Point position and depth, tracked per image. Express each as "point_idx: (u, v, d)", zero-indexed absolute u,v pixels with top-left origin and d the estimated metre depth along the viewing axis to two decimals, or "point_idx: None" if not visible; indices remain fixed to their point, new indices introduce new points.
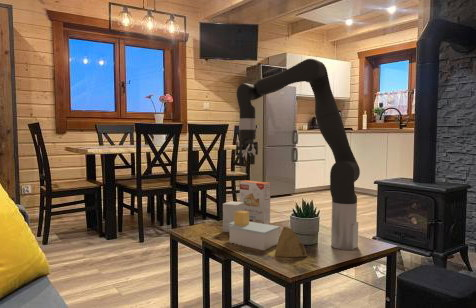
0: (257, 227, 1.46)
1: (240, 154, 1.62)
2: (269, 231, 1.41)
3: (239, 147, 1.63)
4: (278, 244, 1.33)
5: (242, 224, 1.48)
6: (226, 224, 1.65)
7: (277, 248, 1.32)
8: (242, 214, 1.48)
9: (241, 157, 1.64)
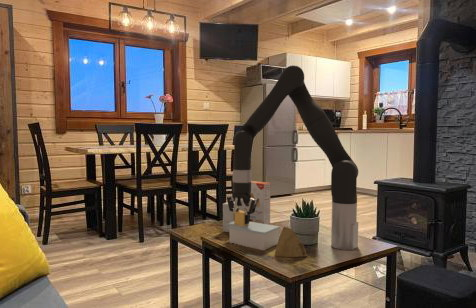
0: (257, 227, 1.46)
1: None
2: (269, 231, 1.41)
3: (255, 205, 1.48)
4: (278, 244, 1.33)
5: (242, 224, 1.48)
6: (226, 224, 1.65)
7: (277, 248, 1.32)
8: (242, 214, 1.48)
9: (249, 215, 1.49)
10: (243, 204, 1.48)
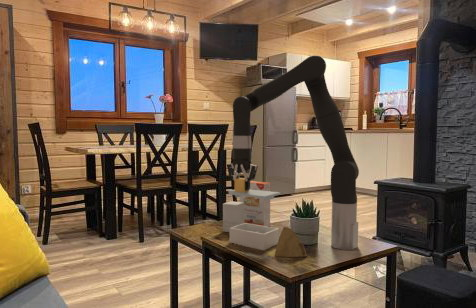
0: (257, 193, 1.45)
1: (254, 178, 1.48)
2: (269, 195, 1.40)
3: (255, 171, 1.47)
4: (278, 244, 1.33)
5: (242, 190, 1.48)
6: (226, 224, 1.65)
7: (277, 248, 1.32)
8: (242, 180, 1.48)
9: None
10: (243, 170, 1.48)
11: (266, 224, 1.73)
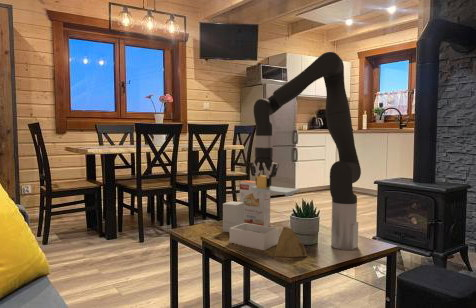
0: (279, 189, 1.54)
1: (275, 175, 1.58)
2: (290, 192, 1.50)
3: (276, 169, 1.56)
4: (278, 244, 1.33)
5: (264, 187, 1.57)
6: (226, 224, 1.65)
7: (277, 248, 1.32)
8: (264, 177, 1.57)
9: (271, 178, 1.58)
10: (265, 168, 1.57)
11: (266, 224, 1.73)
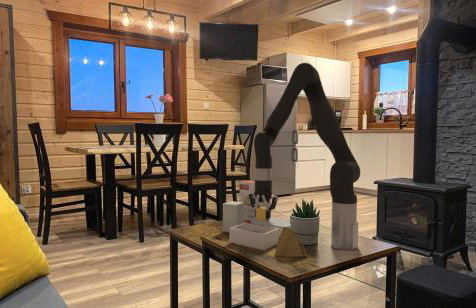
0: (278, 222, 1.55)
1: (274, 208, 1.59)
2: (290, 226, 1.51)
3: (276, 202, 1.57)
4: (278, 244, 1.33)
5: (263, 219, 1.58)
6: (226, 224, 1.65)
7: (277, 248, 1.32)
8: (263, 210, 1.58)
9: (270, 210, 1.59)
10: (264, 200, 1.58)
11: None
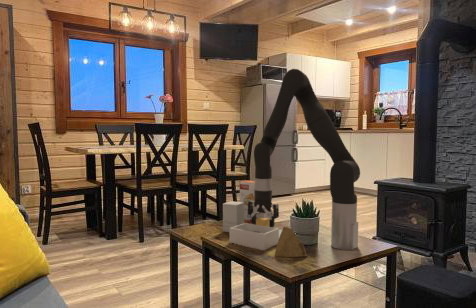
0: None
1: (278, 216, 1.57)
2: None
3: (277, 209, 1.57)
4: (278, 244, 1.33)
5: None
6: (226, 224, 1.65)
7: (277, 248, 1.32)
8: (263, 221, 1.58)
9: (274, 219, 1.58)
10: (266, 210, 1.57)
11: None
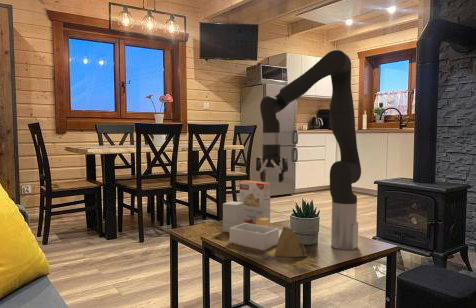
0: None
1: (287, 170, 1.57)
2: None
3: (286, 163, 1.56)
4: (278, 244, 1.33)
5: None
6: (226, 224, 1.65)
7: (277, 248, 1.32)
8: (263, 221, 1.58)
9: (283, 173, 1.57)
10: (275, 164, 1.57)
11: None
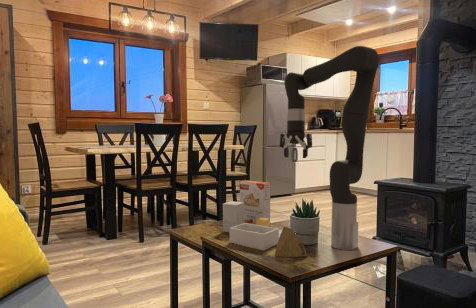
0: None
1: (311, 146, 1.58)
2: None
3: (311, 139, 1.58)
4: (278, 244, 1.33)
5: None
6: (226, 224, 1.65)
7: (277, 248, 1.32)
8: (263, 221, 1.58)
9: (307, 149, 1.59)
10: (299, 140, 1.58)
11: None
